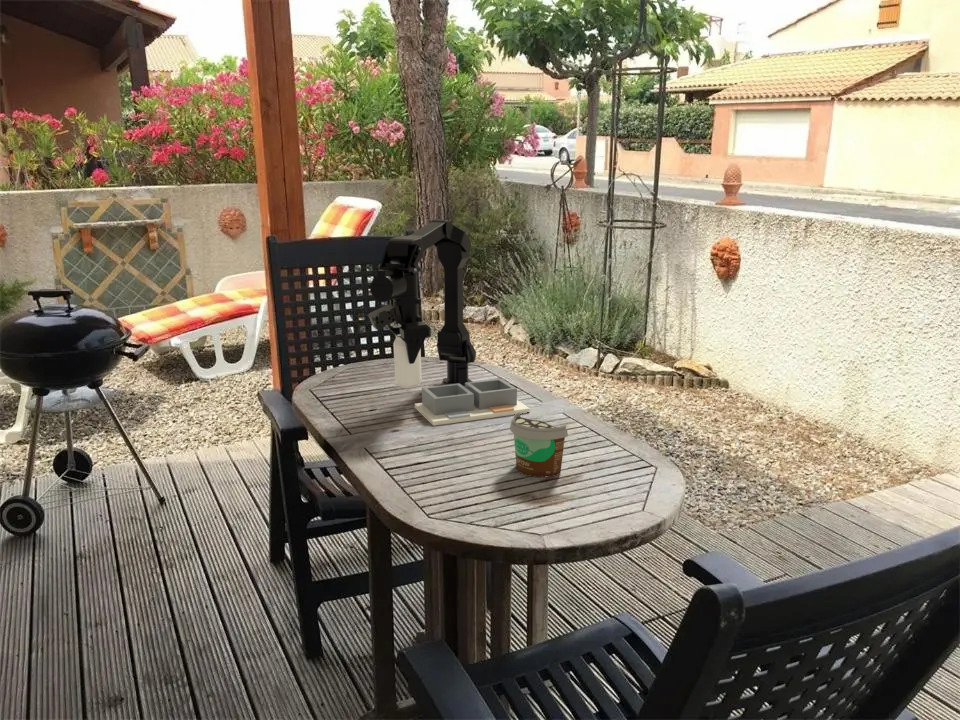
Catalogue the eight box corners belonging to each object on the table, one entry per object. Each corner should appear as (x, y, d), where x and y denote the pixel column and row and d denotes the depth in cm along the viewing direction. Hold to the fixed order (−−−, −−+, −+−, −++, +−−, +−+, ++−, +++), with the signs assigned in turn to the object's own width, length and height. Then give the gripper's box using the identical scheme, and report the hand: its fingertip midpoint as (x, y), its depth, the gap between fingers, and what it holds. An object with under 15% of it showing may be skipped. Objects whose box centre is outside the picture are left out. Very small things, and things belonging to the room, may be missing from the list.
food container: (496, 467, 150) (496, 419, 147) (517, 459, 154) (517, 411, 151) (546, 485, 141) (547, 434, 139) (566, 475, 146) (568, 425, 143)
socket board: (414, 407, 186) (414, 387, 184) (505, 396, 194) (506, 377, 193) (433, 425, 173) (432, 404, 172) (529, 412, 182) (530, 392, 180)
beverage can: (422, 388, 178) (420, 337, 175) (395, 389, 177) (393, 338, 175) (421, 381, 184) (419, 332, 181) (395, 382, 183) (392, 333, 181)
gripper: (361, 289, 181) (364, 354, 185) (380, 304, 164) (384, 374, 168) (406, 286, 185) (409, 349, 189) (430, 300, 168) (432, 368, 172)
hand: (407, 360), depth 180 cm, fingers closed on beverage can, 6 cm apart
